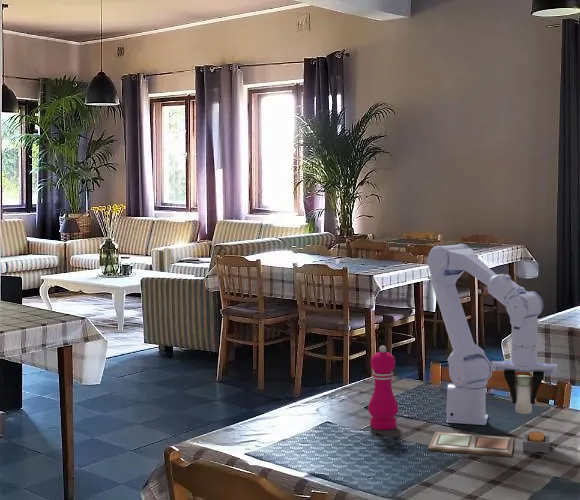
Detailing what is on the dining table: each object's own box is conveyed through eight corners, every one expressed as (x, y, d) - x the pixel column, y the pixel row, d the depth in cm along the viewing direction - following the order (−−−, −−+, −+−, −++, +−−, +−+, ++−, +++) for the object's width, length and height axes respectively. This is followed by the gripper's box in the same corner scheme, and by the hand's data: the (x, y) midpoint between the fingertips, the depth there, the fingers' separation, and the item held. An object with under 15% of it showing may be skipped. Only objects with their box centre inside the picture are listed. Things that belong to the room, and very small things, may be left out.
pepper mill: (397, 431, 205) (396, 349, 203) (366, 430, 206) (366, 348, 204) (399, 422, 212) (398, 343, 210) (370, 421, 213) (369, 342, 211)
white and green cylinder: (514, 413, 197) (515, 378, 197) (515, 408, 201) (515, 374, 200) (531, 414, 196) (532, 379, 196) (531, 409, 200) (532, 375, 199)
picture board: (428, 450, 191) (428, 446, 191) (435, 433, 202) (435, 430, 202) (511, 456, 186) (511, 453, 185) (514, 439, 197) (514, 436, 197)
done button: (528, 443, 190) (528, 435, 189) (529, 438, 193) (529, 430, 192) (543, 444, 189) (543, 436, 188) (543, 439, 192) (543, 431, 191)
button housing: (522, 451, 189) (522, 441, 189) (523, 443, 194) (523, 434, 194) (549, 453, 187) (549, 443, 187) (549, 445, 193) (549, 435, 192)
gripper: (490, 346, 195) (490, 405, 197) (557, 350, 191) (556, 409, 193) (492, 340, 202) (492, 397, 203) (557, 343, 198) (556, 401, 199)
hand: (523, 402), depth 198 cm, fingers closed on white and green cylinder, 4 cm apart
